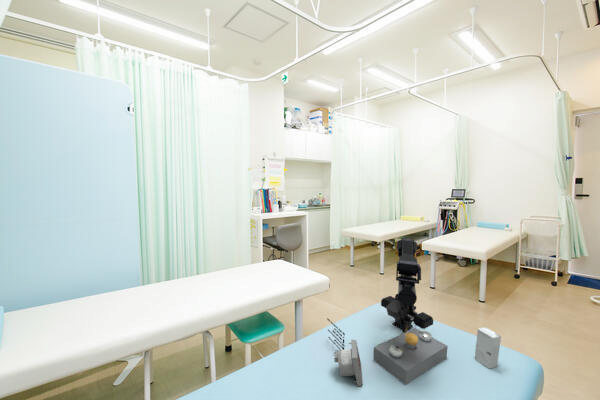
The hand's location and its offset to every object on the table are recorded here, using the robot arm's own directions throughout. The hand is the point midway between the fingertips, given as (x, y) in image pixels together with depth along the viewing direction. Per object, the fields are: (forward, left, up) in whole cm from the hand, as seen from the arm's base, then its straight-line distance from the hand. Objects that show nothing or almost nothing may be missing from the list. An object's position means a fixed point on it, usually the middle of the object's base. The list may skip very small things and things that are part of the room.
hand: (404, 332), depth 98 cm
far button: (+1, +12, -9) cm, 15 cm away
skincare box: (+17, +26, -11) cm, 33 cm away
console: (+1, +3, -11) cm, 11 cm away
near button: (+1, -6, -9) cm, 11 cm away
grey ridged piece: (-11, -20, -11) cm, 26 cm away
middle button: (+1, +3, -7) cm, 7 cm away
